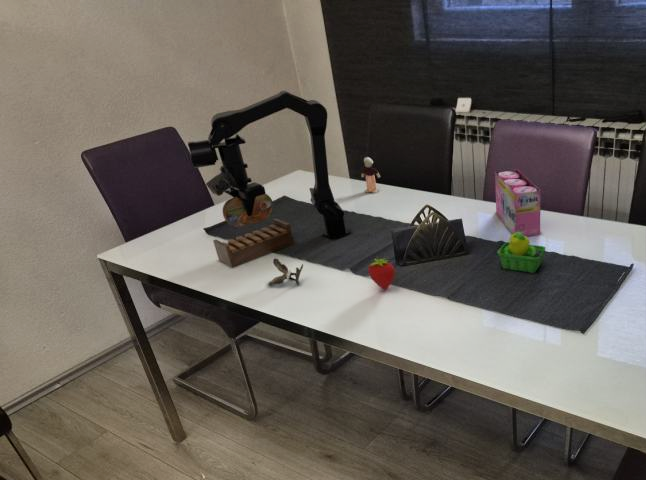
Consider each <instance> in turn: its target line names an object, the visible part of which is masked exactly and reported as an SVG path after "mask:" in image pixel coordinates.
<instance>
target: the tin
mask: <svg viewBox="0 0 646 480" xmlns="http://www.w3.org/2000/svg"><path fill="white" fill-rule="evenodd" d="M273 211H274V202H273V200H272V197H270V195H268V194H267V193H265V194H263V195H260V196H257V197H256V199H255V202H254V207H253V212H252V215H251V216H248V215H247V213H246V211H245V209H244V206H243V204H242V201H241V200H240V199H238V198H237V197H234V198H233V197H232V198H228V199H227V200H226V201H225V202H224V204H223V206H222V216H223V219H224V220H225V222H226V223H228V224H229V225H231V227H232V226H233V227H235V228H244V227H247V226H250V225H254V224H256V223H260V222H263V221H266V220H268V219H269V218H270V217H271V215H272V214H273Z"/></svg>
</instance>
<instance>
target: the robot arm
mask: <svg viewBox="0 0 646 480" xmlns="http://www.w3.org/2000/svg"><path fill="white" fill-rule="evenodd" d="M285 109H288V110H291V111H292V112H294V113H296V114H299V115H301V116H302V117H303V118H304V120H305V124H306V126H307V129H308V133H309V136H310V137H309V138H310V146H311V147H310V148H311V156H312V167H313V174H314V186H313V187H309V189H308V190H309V192H310V202H311V203H312V206H313V207H314V208H315V209H316V210H317V212H318V214H320V215H322V216H323V222H324V226H325V227H324V228H325V232H323V233H322V236H324V237H327V238H329V239H332V240H337V239H339V238H342V237H345V236H347V235H350V234H351V231H350V230H347V229H346V224H345V218H344V216H345V211H344V210H343V208H342V207H341V206H340V204H339V203H338V202H336V200H335V197H334V194H333V191H332V188H331V186H330V178H329V171H328V170H329V169H328V158H327V148H326V147H327V146H326V131H327V126H328V111H327V109H326V107H325V106H324V105H323V104H322V103H321V102H320V101H318V100H316V99H309V100H308V99H305V98H303V97H300V96H298V95H295V94H292V93H291V92H289V91H287V90H281V91H279V92H278V93H276V94H274V95H271V96H269V97H267V98H264V99H262V100H260V101H258V102H255V103H253V104H251V105H247V106H246V107H243V108H241V109H235V110H226V111H222V112H218V113H215V114H214V115H213V116H212V118H211V120H210V126H211V130H210V131H209V134H208V137H207V139H204V140H198V141H188V142H187V146H188V148H189V153H190V159H191V162H192V165H193V168H194V169H197V168H198V169H199V168H203V167H211V166H215V165H216V163H217V162H218V161H219V157H220V161H221V164H222V165H221V166H220V168H219V170H220V173H219V174H216V175H215V176H214V177H212V178H211V179H210V180H209V181H207V182H206V183H205V185H206V186H207V188H208V189H209V190H210V192H211V193H212V194H213V195H216V196H218V197H221V196H222V195H223V194H224V193H225V194H227V196H230V197H232V198H234V197H237V198H238V199H240V200H241V201H242V204H243V206H244V209H245V211H246V213H247V215H248V216H251V215H252V212H253V207H254V202H255V199H256V197H257V196H260V195H263V194H267V192H266V189H265V186H264V185H263V184H261V183H257V182H255V181H253V180H252V178H251V177H249V175H248V172H247V168H249V166H248V164H247V163H245V162H244V158H243V154H242V150H241V146H240V145H244V144H246V139H245V137H242V136H241V135H239V133H240V132H241V131H242V130H243V129H245V127H247V126H248V125H250V124H252V123H255V122H257V121H259V120H262V119H264V118H267V117H269V116H271V115H274V114H276V113H278V112H281V111H284V110H285ZM233 136H234V137H233ZM223 140H224V141H223ZM216 149H217V150H218V153H217V150H216ZM218 154H219V157H218ZM252 181H253V182H252Z"/></svg>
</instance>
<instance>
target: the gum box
mask: <svg viewBox="0 0 646 480" xmlns="http://www.w3.org/2000/svg"><path fill="white" fill-rule="evenodd" d="M494 174H495V175H494V176H495V177H494V178H495V179H494V181H495V182H494V183H495V211H496V214H497V215H498V217H499V218H500V219H501V220H502V222H503V223H504V224H505V226H506V228H507V229H508V230H509V231H510V232H511V235H512V234H514V233H516V232H521V233H522V234H523V235H524V236H526V237H531V236H538V235H540V234H541V200H542V199H541V198H542V196H541V195H542V194H541V189H540V188H539V187H538V186H537V185H535V184H534V183H533V182H532V181H531V180H530V179H529V178H528V177H526V176H525V175H524V174H523V173H522V172H521V171H520V170H519V169H518V168H512V170H511V171H501V172H499V171H498V170H496V171H494Z"/></svg>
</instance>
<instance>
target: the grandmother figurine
mask: <svg viewBox="0 0 646 480" xmlns="http://www.w3.org/2000/svg"><path fill="white" fill-rule="evenodd" d="M363 162H364V167H363V169H362V171H361V175H360V176H361V178H365V183H366V189H365V192H364V193H371V194H376V193H377V192H378V189H377V182H376V181H377V180H376V177H375V176H377V178H378V179H379V178H381V175H380V172H379V171H378V169H376V168H374V167H373V164H374V161H373V159H372V158H370V157H369V156H367V157H364V158H363Z"/></svg>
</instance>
